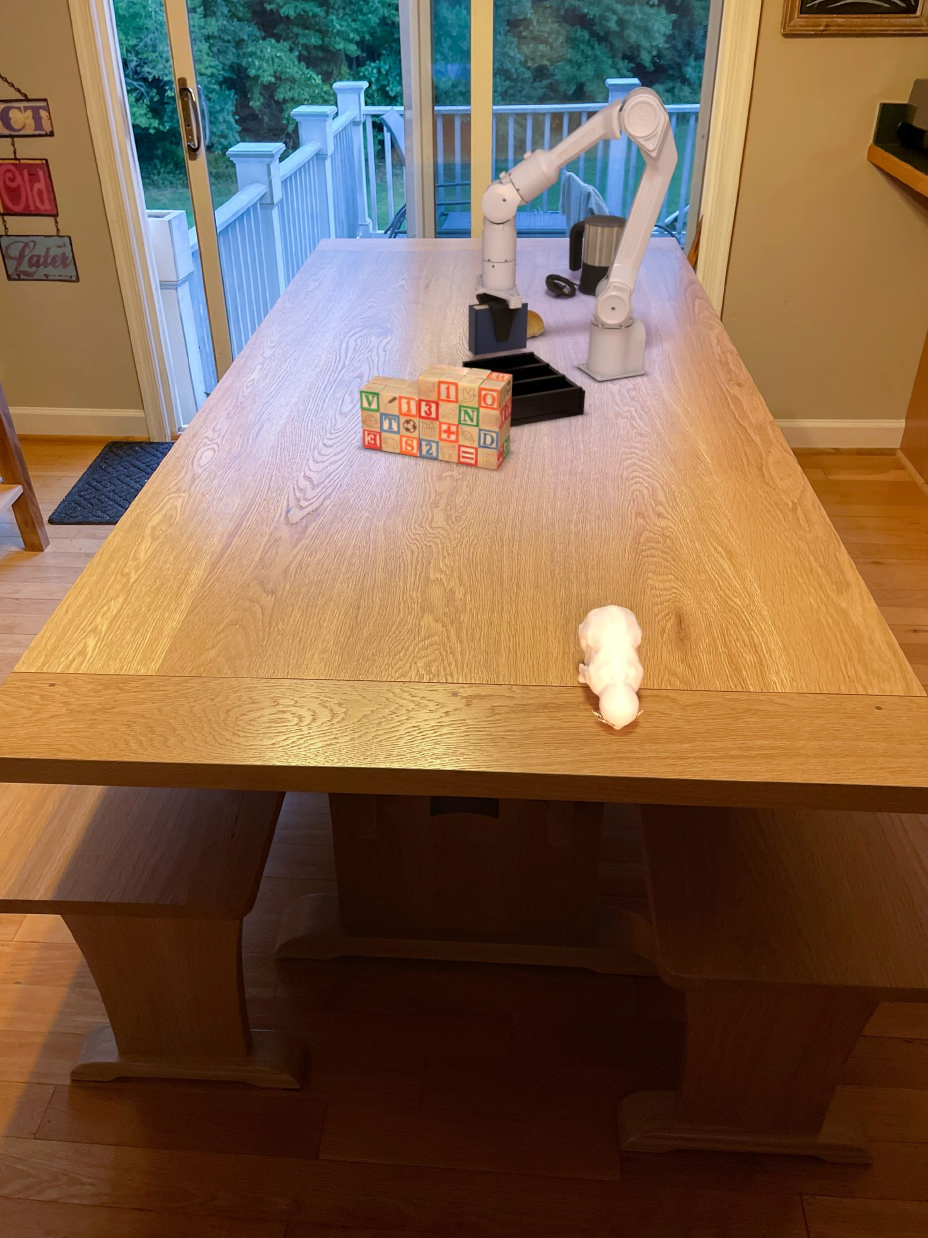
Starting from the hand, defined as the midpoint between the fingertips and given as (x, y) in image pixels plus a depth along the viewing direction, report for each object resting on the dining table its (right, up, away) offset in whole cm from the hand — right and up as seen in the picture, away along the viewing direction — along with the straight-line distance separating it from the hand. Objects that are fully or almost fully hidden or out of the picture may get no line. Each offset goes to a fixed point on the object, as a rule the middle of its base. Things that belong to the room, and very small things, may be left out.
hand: (497, 337), depth 171 cm
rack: (+3, -13, -10) cm, 17 cm away
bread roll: (+5, +6, +18) cm, 20 cm away
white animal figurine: (+9, -58, -74) cm, 94 cm away
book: (0, -2, +1) cm, 2 cm away
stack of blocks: (-10, -25, -26) cm, 37 cm away
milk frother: (+20, +22, +40) cm, 50 cm away
